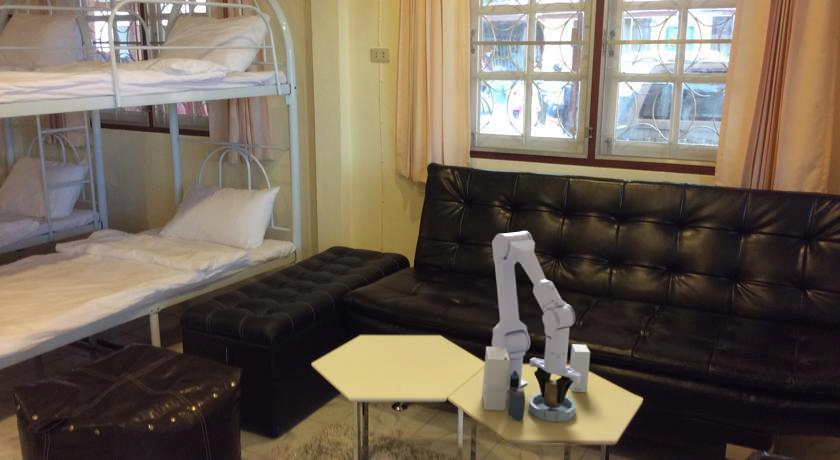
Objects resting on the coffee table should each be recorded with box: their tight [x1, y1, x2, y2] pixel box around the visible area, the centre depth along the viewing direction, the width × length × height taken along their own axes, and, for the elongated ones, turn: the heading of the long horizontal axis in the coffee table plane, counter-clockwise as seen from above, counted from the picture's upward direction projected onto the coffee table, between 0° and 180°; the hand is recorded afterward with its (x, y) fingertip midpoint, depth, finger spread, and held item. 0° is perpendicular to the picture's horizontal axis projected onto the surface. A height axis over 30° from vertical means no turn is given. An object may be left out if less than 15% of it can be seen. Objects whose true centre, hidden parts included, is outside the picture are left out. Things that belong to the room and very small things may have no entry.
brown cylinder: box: [544, 378, 561, 408], centre depth 187 cm, size 4×4×6 cm
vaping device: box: [507, 371, 526, 422], centre depth 183 cm, size 3×5×12 cm, turn 27°
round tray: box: [528, 392, 577, 423], centre depth 188 cm, size 12×12×2 cm
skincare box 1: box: [481, 346, 510, 411], centre depth 189 cm, size 8×6×15 cm
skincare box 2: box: [569, 343, 591, 393], centre depth 201 cm, size 6×4×12 cm
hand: (552, 399), depth 187 cm, fingers closed on brown cylinder, 4 cm apart
